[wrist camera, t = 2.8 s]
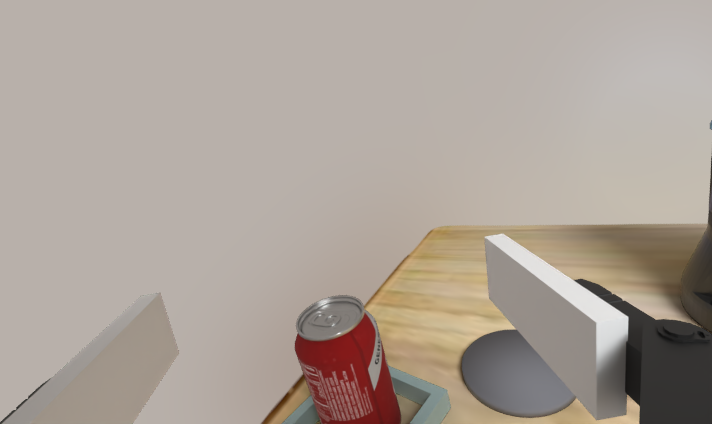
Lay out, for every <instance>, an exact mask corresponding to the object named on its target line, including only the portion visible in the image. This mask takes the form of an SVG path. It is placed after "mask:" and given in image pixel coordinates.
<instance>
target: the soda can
mask: <svg viewBox="0 0 712 424" xmlns="http://www.w3.org/2000/svg"><path fill="white" fill-rule="evenodd" d="M296 329H297V332H298V334H297V337H296V341H295V351H296V354H297V357H298V360H299V363H300V365H301V368H302V371H303V374H304V377H305V379H306V382H307V385H308V388H309V391H310V393H311V396H312V399H313V402H314V405H315V407H316V410H317V413H318V416H319V419H320V421H321V424H401V413H400V409H399V405H398V402H397V398H396V394H395V390H394V387H393V383H392V379H391V375H390V372H389V368H388V364H387V360H386V357H385V353H384V349H383V345H382V342H381V338H380V334H379V331H378V327H377V323H376V321H375V319H374V317H373V316H372V315H371V314H370V313H369V312H367V311H366V310H364V306H363V303H362V302H361V301H360V300H359V299H358V298H356V297H353V296H347V295H339V296H332V297H328V298H325V299H322V300H320V301H318V302H316V303H314V304H312V305H310V306H309V307H308V308H306V309H305V310H304V311H303V312H302V313H301V314H300V316H299V318H298V319H297V322H296Z"/></svg>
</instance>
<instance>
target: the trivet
mask: <svg viewBox="0 0 712 424" xmlns="http://www.w3.org/2000/svg"><path fill="white" fill-rule="evenodd" d="M462 372H463V377H464V381H465V383H466V386H467V387H468V389H469V391H470V392H471V393H472V394H473V395H474V396H475V397H476V398H477V399H478V400H479V401H480V402H481V403H483V404H484V405H486V406H487V407H489V408H491V409H493V410H495V411H498V412H500V413H503V414H507V415H511V416H516V417H527V418H533V417H543V416H548V415H551V414H554V413H557V412H559V411H561V410H563V409H565V408H566V407H568V406H569V405H570V404H571V403H572V402H573V401H574V400H575V398H576V396H575V395H574V394H573V393H572V392H571V391H570V390H569V388H568V387H567V386H566V385H565V384H564V383H563V382H562V380H561V379H560V378H559V377H558V376H557V375H556V374H555V372H554V371H553V370H552V369H551V368H550V367H549V366H548V365H547V363H546V362H545V361H544V360H543V359H542V358H541V357H540V355H539V354H538V353H537V352H536V351H535V350H534V349H533V347H532V346H531V345H530V344H529V343H528V342H527V341H526V340H525V338H524V337H523V336H522V335H521V334H520V333H519V332H518V330H502V331H497V332H493V333H490V334H487V335H484V336H482V337H481V338H479V339H477V340H476V341H474V342H473V343H472V344H471V345H470V346H469V347H468V348H467V350H466V351H465V353H464V356H463V359H462Z"/></svg>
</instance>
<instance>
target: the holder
mask: <svg viewBox="0 0 712 424" xmlns="http://www.w3.org/2000/svg"><path fill="white" fill-rule="evenodd" d="M388 368H389V372H390V375H391V379H392V383H393V387H394V390H395V393H397V394H399V395H401V396H403V397H405V398H408V399H410V400H412V401H414V402H416V403H418V404H420V405H423V406H422V407H421V408H420V410H419V411H418V413H417V414H416V415H415V417H414V418H413V419H412V421H411V422H410V424H440V423H441V422H442V420H443V419H444V417H445V416H446V414H447V413H448V411H449V410H450V408H451V406H450V401H449V396H448V392H447V390H446V389H444V388H441V387H439V386H436V385H434V384H431V383H429V382H426V381H424V380H422V379H419V378H417V377H414V376H412V375H409V374H407V373H405V372H402V371H400V370H397V369H395V368H392V367H390V366H388ZM319 420H320V419H319V416H318V413H317V410H316V407H315V405H314V402H313V399H312V396H311V395H310V396H309V397H308V398H307V399H306V400H305V401H304V402H303V403H302V404H301V405H300V406H299V407H298V408H297V409H296V410H295V411H294V412H293V413H292V414H291V415H290V416H289V417H288V418H287V419H286V420H285V421H284V422H283V423H282V424H316V423H317V422H318V421H319Z"/></svg>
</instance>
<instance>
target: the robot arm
mask: <svg viewBox="0 0 712 424" xmlns="http://www.w3.org/2000/svg"><path fill="white" fill-rule="evenodd" d="M710 129H712V121H711V123H710ZM484 238H485V251H486V264H487V276H488V289H489V299H490V300H491V301H492V302H493V303H494V304H495V305H496V307H497V308H498V309H499V310H500V311H501V312H502V313H503V315H504V316H505V317H506V318H507V319H508V320H509V321H510V322H511V324H512V325H513V326H514V327H515V328H516V329H517V330H518V332H519V333H520V334H521V335H522V336H523V337H524V338H525V340H526V341H527V342H528V343H529V344H530V345H531V346H532V347H533V349H534V350H535V351H536V352H537V353H538V354H539V355H540V357H541V358H542V359H543V360H544V361H545V362H546V363H547V365H548V366H549V367H550V368H551V369H552V370H553V371H554V372H555V374H556V375H557V376H558V377H559V378H560V379H561V380H562V382H563V383H564V384H565V385H566V386H567V387H568V388H569V390H570V391H571V392H572V393H573V394H574V395H575V396H576V397H577V399H578V400H579V401H580V402H581V403H582V404H583V405H584V407H585V408H586V409H587V410H588V411H589V412H590V413H591V415H592V416H593V417H594V418H595V419H596V420H601V419H606V418H612V417H617V416H622V415H626V404H627V394H628V395H629V396H630V397H631V398H632V399H633V400H634V401H635V402H636V403H637V404H638V405H639V406H640V421H639V424H712V334H711V333H709V332H708V331H706V330H705V329H703V328H701V327H698V326H696V325H693V324H690V323H686V322H682V321H677V320H666V319H662V320H655V319H654V318H652V317H650V316H649V315H647V314H645V313H644V312H642V311H641V310H639V309H637V308H636V307H634V306H633V305H631V304H629V303H628V302H626V301H622V299H621V298H620V297H618V296H616V295H615V294H612V293H611V292H610V291H608V290H607V289H605V288H603V287H602V286H600V285H598V284H595V283H592V282H589V281H586V280H583V279H578V280H572V279H571V278H569V277H568V276H566V275H565V274H563V273H561V272H560V271H558V270H557V269H555V268H554V267H552V266H551V265H549V264H548V263H546V262H545V261H543V260H542V259H540V258H539V257H537V256H536V255H534V254H533V253H531V252H530V251H528V250H527V249H525V248H524V247H522V246H521V245H519V244H518V243H516V242H515V241H513V240H512V239H510V238H509V237H507V236H506V235H504V234H498V235H492V236H486V237H484ZM681 301H682V304H683V306H684V308H685V310H686V311H687V312H688V313H689V315H690V316H691V317H692V318H693V319H694V320H696V321H697V322H698V323H699V324H701V325H702V326H703V327H705V328H706V329H708V330H709V331H711V332H712V158H711V179H710V197H709V217H708V227H707V230H706V232H705V233H704V235H703V237H702V239H701V241H700V242H699V244H698V246H697V248H696V250H695V252H694V253H693V255H692V257H691V259H690V261H689V263H688V264H687V266H686V268H685V270H684V272H683V275H682V279H681ZM178 354H179V350H178V347H177V344H176V341H175V338H174V334H173V331H172V328H171V325H170V322H169V318H168V315H167V312H166V309H165V306H164V303H163V300H162V296H161V293H155V294H150V295H143V296H140V297H139V298H138V299H137V300H136V301H135V302H134V303H133V304H132V305H131V306H130V307H128V308H127V309H126V310H125V311H124V312H123V313H122V314H121V315H120V316H119V317H118V318H117V319H115V320H114V321H113V322H112V323H111V324H110V325H109V326H108V327H107V328H106V329H104V330H103V331H102V332H101V333H100V334H99V335H98V336H97V337H96V338H95V339H94V340H92V342H90V343H89V344H88V345H87V346H86V347H85V348H84V349H83V350H82V351H81V352H79V353H78V354H77V355H76V356H75V357H74V358H73V359H72V360H71V361H70V362H69V363H67V364H66V365H65V366H64V367H63V368H62V369H61V370H60V371H59V372H58V373H57V374H55V375H54V376H53V377H52V378H51V379H49V380H48V381H46V382H45V383H43V384H42V385H41V386H40V387H39V388H37V389H36V390H35V391H34V392H33V393H32V394H31V395H30V396H29V397H28V399H26V400H24V401H23V402H22V403H21V404H20V405H19V406H18V407H17V409H16V410H13V411H12V412H11V413H10V414H9V415H8V416H7V417H5V418H4V419H3V420H2V421H1V422H0V424H133V422H134V421H135V419H136V418H137V416H138V415H139V413H140V412H141V410H142V408H143V407H144V405H145V404H146V402H147V401H148V400H149V398H150V396H151V395H152V393H153V392H154V390H155V389H156V387H157V386H158V384H159V383H160V381H161V380H162V378H163V377H164V375H165V374H166V372H167V371H168V369H169V368H170V366H171V365H172V363H173V362H174V360H175V359H176V357H177V355H178Z"/></svg>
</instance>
